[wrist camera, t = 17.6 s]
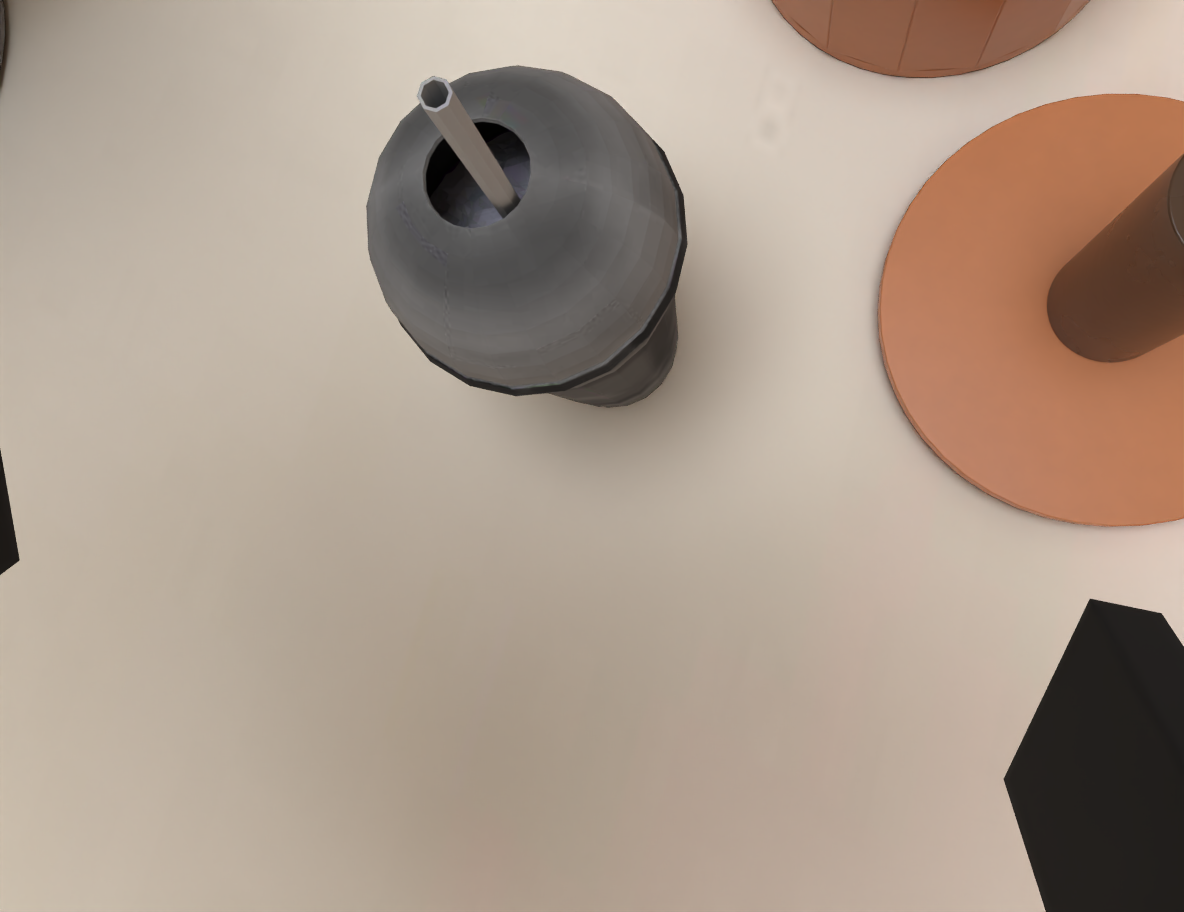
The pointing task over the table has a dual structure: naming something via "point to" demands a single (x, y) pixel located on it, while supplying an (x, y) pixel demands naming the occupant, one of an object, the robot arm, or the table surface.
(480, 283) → the beverage cup
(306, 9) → the table surface
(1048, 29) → the canister
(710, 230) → the table surface
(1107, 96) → the lid
